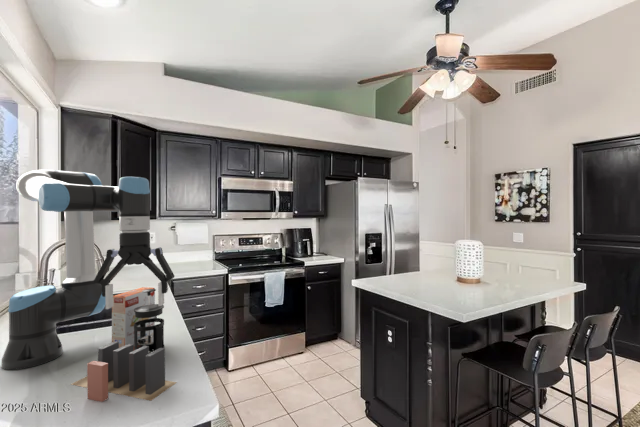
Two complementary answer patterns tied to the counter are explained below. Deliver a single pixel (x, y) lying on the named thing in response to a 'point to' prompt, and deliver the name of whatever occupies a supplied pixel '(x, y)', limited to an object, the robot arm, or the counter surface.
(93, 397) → the loose domino
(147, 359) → the domino
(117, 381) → the domino
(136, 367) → the domino
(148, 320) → the french press
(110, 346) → the domino
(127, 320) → the cracker box
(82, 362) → the counter surface
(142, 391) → the oak board
